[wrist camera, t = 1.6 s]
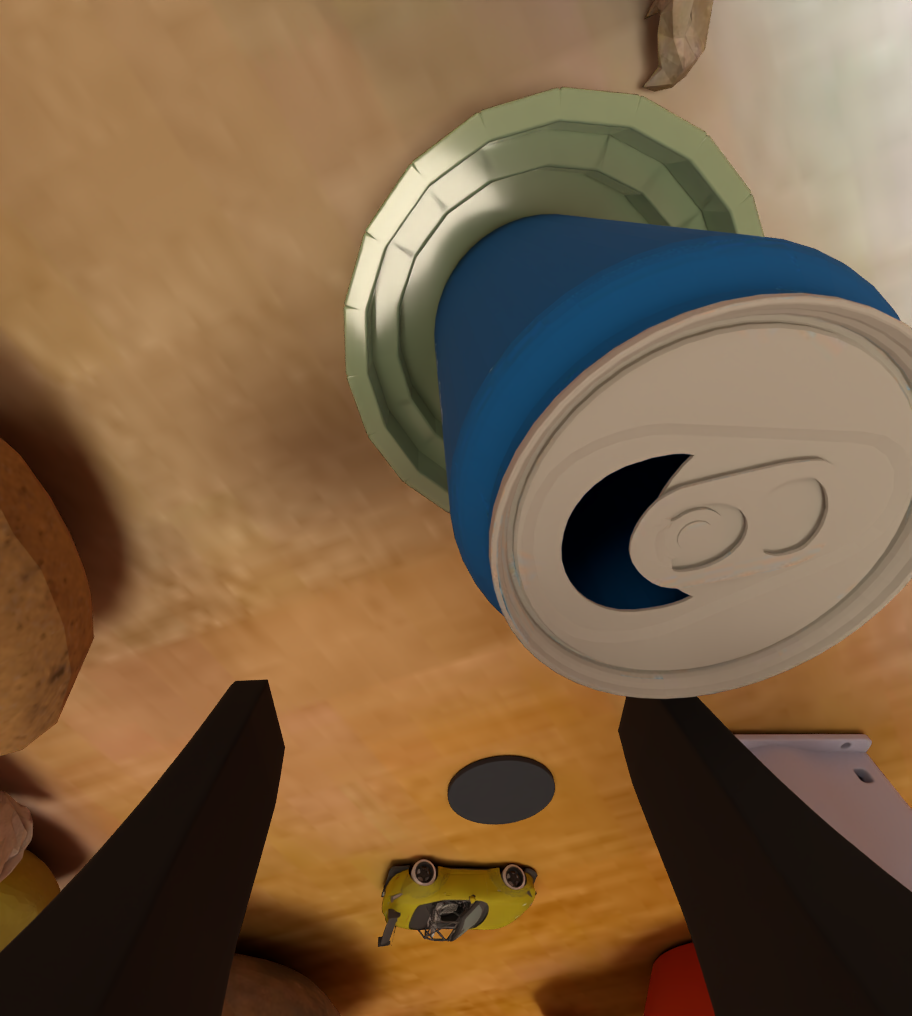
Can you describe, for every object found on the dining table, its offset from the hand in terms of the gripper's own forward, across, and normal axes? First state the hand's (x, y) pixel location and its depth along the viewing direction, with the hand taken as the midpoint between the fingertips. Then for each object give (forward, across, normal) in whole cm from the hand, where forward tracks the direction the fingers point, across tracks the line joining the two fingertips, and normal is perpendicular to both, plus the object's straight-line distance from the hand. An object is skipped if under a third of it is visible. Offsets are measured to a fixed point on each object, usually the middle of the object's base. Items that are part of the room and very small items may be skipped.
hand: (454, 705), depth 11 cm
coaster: (+10, -3, +20) cm, 23 cm away
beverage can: (+10, -3, -5) cm, 12 cm away
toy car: (+10, -1, +30) cm, 31 cm away
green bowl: (+10, -3, -5) cm, 12 cm away
